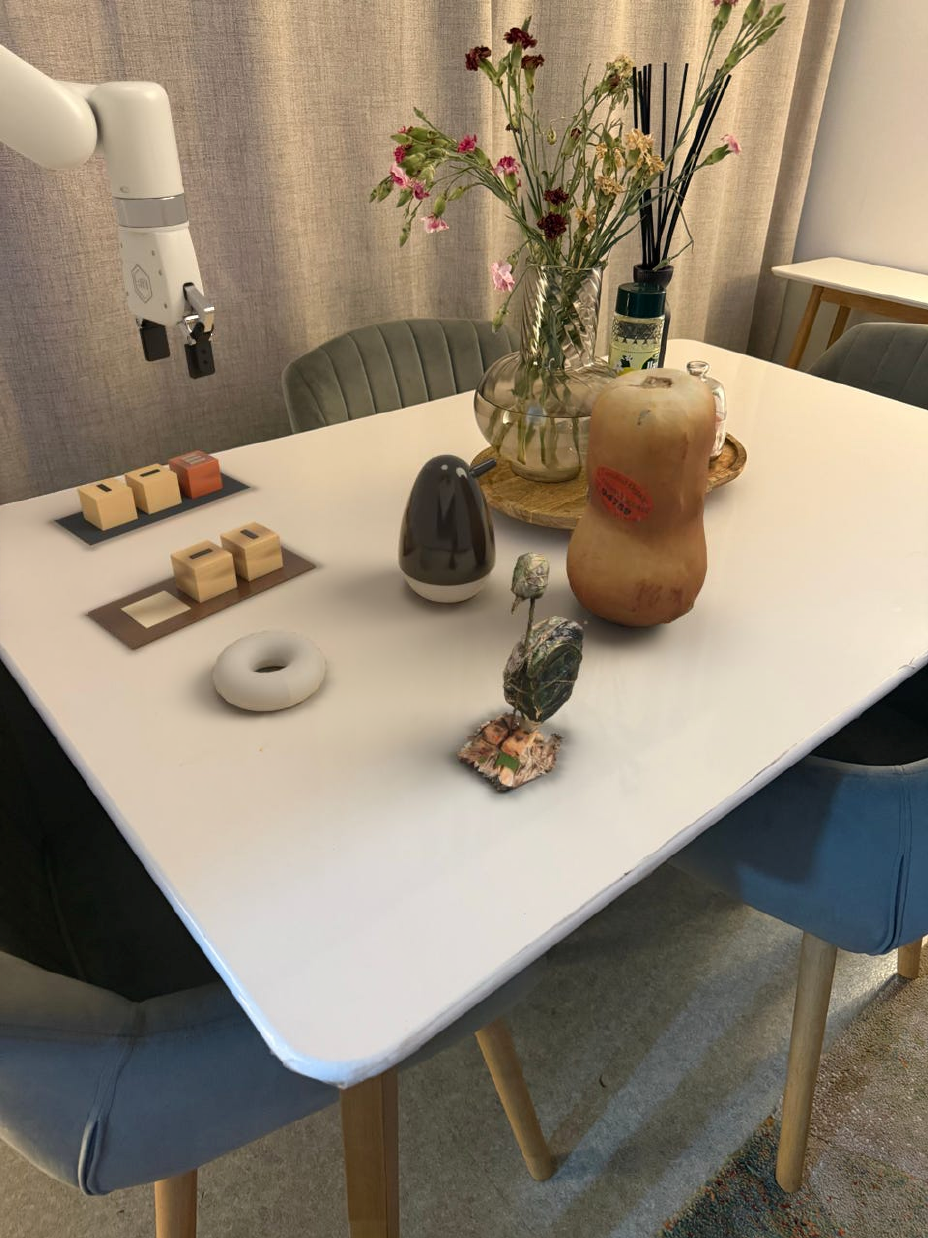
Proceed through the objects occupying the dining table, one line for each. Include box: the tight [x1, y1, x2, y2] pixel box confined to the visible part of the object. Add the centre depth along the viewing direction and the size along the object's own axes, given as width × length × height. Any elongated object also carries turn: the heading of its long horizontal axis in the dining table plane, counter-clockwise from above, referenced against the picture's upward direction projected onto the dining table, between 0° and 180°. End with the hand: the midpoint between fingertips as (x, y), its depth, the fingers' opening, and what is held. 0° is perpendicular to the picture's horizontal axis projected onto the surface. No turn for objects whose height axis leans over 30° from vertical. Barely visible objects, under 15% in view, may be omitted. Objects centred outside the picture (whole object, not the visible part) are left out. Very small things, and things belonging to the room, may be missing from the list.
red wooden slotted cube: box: [167, 449, 223, 499], centre depth 113 cm, size 4×4×4 cm
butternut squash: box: [565, 367, 717, 629], centre depth 84 cm, size 14×13×25 cm
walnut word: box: [87, 521, 317, 651], centre depth 93 cm, size 9×22×5 cm, turn 137°
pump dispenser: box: [397, 454, 498, 604], centre depth 90 cm, size 10×10×15 cm
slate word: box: [54, 462, 251, 546], centre depth 109 cm, size 9×22×5 cm, turn 137°
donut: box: [212, 630, 327, 712], centre depth 80 cm, size 10×4×10 cm
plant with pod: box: [457, 552, 588, 791], centre depth 68 cm, size 8×11×20 cm
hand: (180, 367), depth 107 cm, fingers open, 9 cm apart
